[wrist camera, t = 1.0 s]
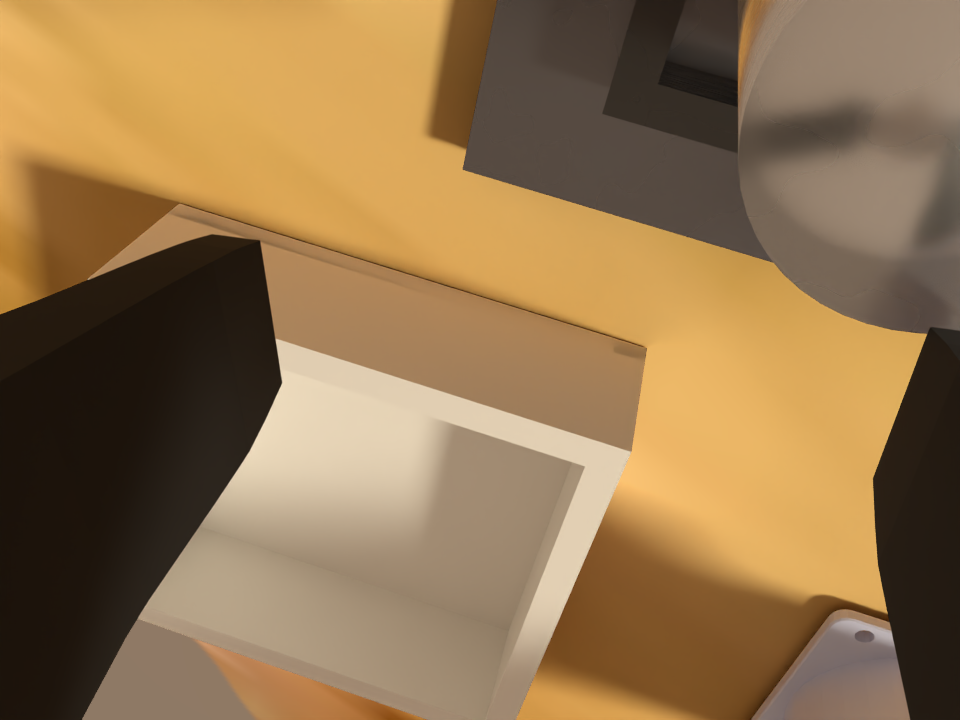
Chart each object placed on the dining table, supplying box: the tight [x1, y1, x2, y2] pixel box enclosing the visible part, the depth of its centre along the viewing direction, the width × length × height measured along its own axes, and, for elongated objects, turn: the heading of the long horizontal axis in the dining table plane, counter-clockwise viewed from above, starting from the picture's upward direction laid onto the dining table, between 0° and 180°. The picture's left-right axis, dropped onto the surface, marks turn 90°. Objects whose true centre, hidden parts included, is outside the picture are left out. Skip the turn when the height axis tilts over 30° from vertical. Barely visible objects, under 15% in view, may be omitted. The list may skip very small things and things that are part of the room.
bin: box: [88, 204, 647, 720], centre depth 24 cm, size 13×13×4 cm
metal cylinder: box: [738, 0, 960, 334], centre depth 11 cm, size 4×4×9 cm
